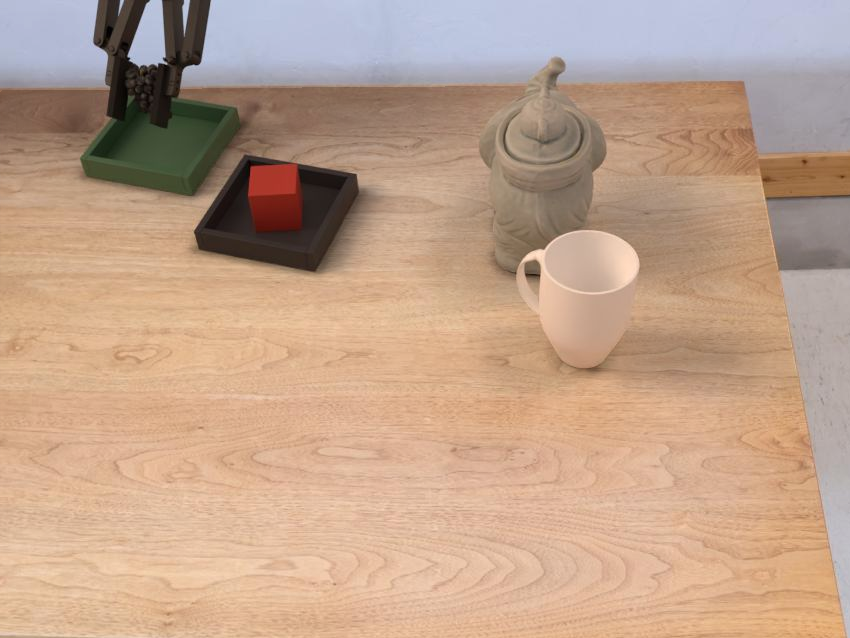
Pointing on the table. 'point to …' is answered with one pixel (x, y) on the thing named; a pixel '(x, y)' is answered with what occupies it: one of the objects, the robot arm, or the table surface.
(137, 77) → the fruit
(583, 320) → the mug
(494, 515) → the table surface
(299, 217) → the red block
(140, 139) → the green tray
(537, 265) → the lidded stone jar
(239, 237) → the black tray
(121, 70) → the robot arm
